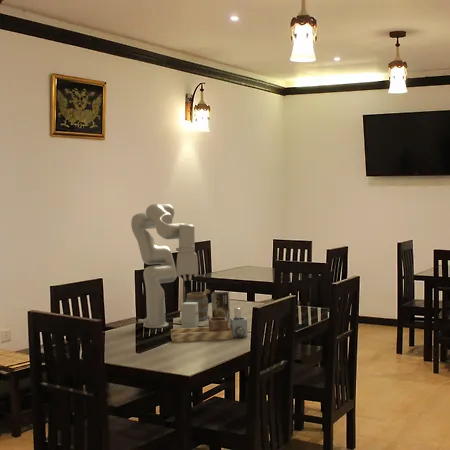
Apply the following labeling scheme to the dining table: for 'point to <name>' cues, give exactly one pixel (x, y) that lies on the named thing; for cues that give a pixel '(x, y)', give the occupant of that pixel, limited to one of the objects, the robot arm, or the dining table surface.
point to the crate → (218, 324)
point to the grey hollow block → (239, 327)
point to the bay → (199, 334)
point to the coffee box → (220, 305)
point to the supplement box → (190, 315)
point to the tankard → (200, 303)
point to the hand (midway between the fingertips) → (187, 288)
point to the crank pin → (238, 314)
